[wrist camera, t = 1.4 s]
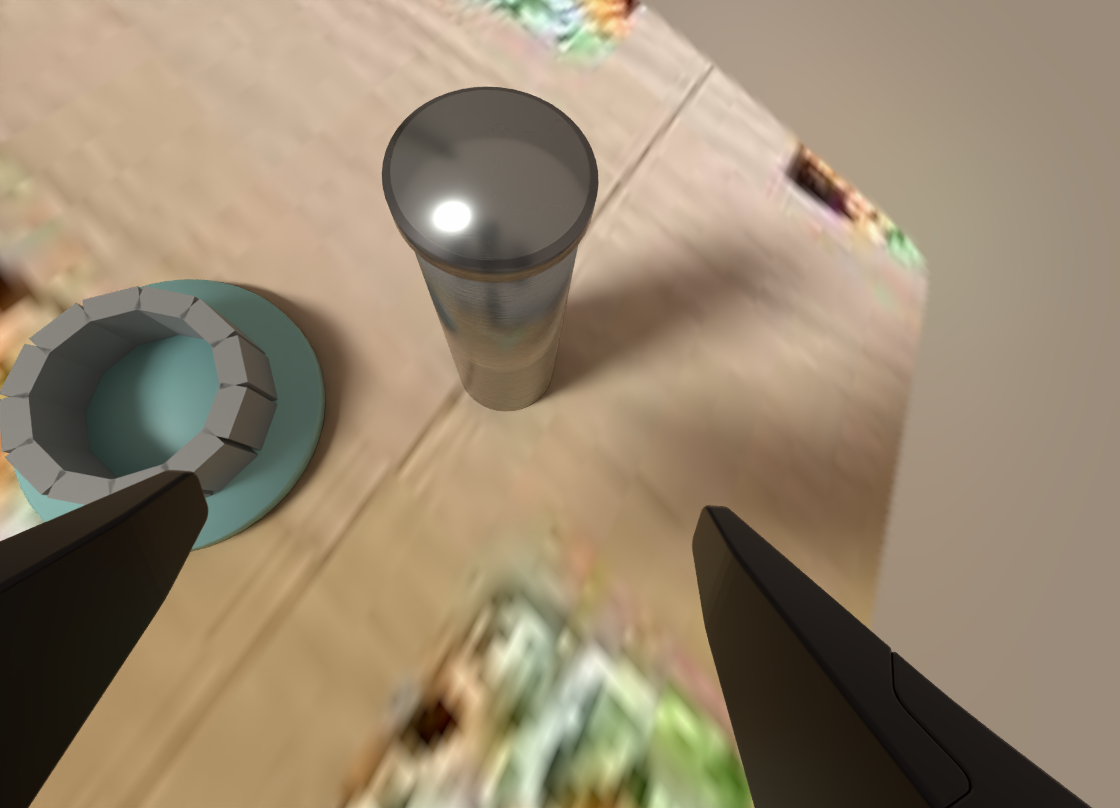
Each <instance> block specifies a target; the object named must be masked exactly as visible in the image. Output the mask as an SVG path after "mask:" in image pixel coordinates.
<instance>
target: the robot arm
mask: <svg viewBox="0 0 1120 808" xmlns="http://www.w3.org/2000/svg"><path fill="white" fill-rule="evenodd" d="M207 517H208V504H207V501H206V498H205V495H204V492H203V489H202V486H201V483H200V480H199V477H198V476H197V475H196V474H195V473H194V472H192V471H183V470H166V471H163V472H161V473H159V474H156V475H154V476H152V477H149V478H147V479H145V480H142V481H140V482H138V483H135V484H133V485H131V486H128V487H126V488H124V489H121V490H119V491H117V492H114V493H112V494H110V495H107V496H105V497H103V498H100V499H98V500H96V501H93V502H91V503H89V504H86V505H84V506H82V507H79V508H77V509H75V510H72V511H70V512H68V513H65V514H63V515H61V516H58V517H56V518H54V519H51V520H49V521H47V522H44V523H42V524H40V525H37V526H35V527H33V528H30V529H28V530H26V531H23V532H21V533H19V534H16V535H14V536H12V537H9V538H7V539H5V540H2V541H0V808H29V806H30V805H31V803H32V802H33V800H34V799H35V797H36V796H37V794H38V792H39V791H40V789H41V788H42V786H43V785H44V783H45V782H46V780H47V779H48V777H49V776H50V774H51V773H52V771H53V770H54V768H55V767H56V765H57V764H58V762H59V761H60V759H61V758H62V756H63V755H64V753H65V751H66V750H67V748H68V747H69V745H70V744H71V742H72V741H73V739H74V738H75V736H76V735H77V733H78V732H79V730H80V729H81V727H82V726H83V724H84V723H85V721H86V720H87V718H88V717H89V715H90V713H91V712H92V710H93V709H94V707H95V706H96V704H97V703H98V701H99V700H100V698H101V697H102V695H103V694H104V692H105V691H106V689H107V688H108V686H109V685H110V683H111V682H112V680H113V679H114V677H115V676H116V674H117V672H118V671H119V669H120V668H121V666H122V665H123V663H124V662H125V660H126V659H127V657H128V656H129V654H130V653H131V651H132V650H133V648H134V647H135V645H136V644H137V642H138V641H139V639H140V638H141V636H142V634H143V633H144V631H145V630H146V628H147V627H148V625H149V624H150V622H151V621H152V619H153V618H154V616H155V615H156V613H157V612H158V610H159V608H160V607H161V605H162V604H163V602H164V600H165V599H166V597H167V595H168V593H169V591H170V590H171V588H172V586H173V584H174V582H175V580H176V578H177V576H178V575H179V573H180V571H181V569H182V567H183V565H184V563H185V561H186V559H187V557H188V555H189V553H190V552H191V550H192V548H193V546H194V544H195V542H196V540H197V538H198V536H199V534H200V532H201V530H202V529H203V527H204V525H205V523H206V520H207ZM692 550H693V557H694V563H695V569H696V575H697V582H698V588H699V594H700V600H701V607H702V613H703V619H704V624H705V629H706V633H707V637H708V641H709V645H710V648H711V652H712V656H713V659H714V663H715V666H716V670H717V674H718V677H719V681H720V684H721V688H722V692H723V695H724V699H725V702H726V706H727V710H728V713H729V717H730V720H731V724H732V728H733V731H734V735H735V739H736V742H737V746H738V749H739V753H740V757H741V760H742V764H743V767H744V771H745V775H746V778H747V782H748V785H749V789H750V793H751V796H752V800H753V803H754V807H755V808H1091V807H1090V806H1089V805H1088V804H1086V803H1085V802H1084V801H1082V800H1081V799H1080V798H1078V797H1077V796H1076V795H1075V794H1073V793H1072V792H1070V791H1069V790H1068V789H1067V788H1065V787H1064V786H1063V785H1061V784H1060V783H1059V782H1057V781H1056V780H1055V779H1054V778H1052V777H1051V776H1050V775H1048V774H1047V773H1046V772H1044V771H1043V770H1042V769H1041V768H1039V767H1038V766H1037V765H1035V764H1034V763H1033V762H1031V761H1030V760H1029V759H1027V758H1026V757H1025V756H1023V755H1022V754H1021V753H1020V752H1018V751H1017V750H1016V749H1014V748H1013V747H1012V746H1010V745H1009V744H1008V743H1007V742H1005V741H1004V740H1003V739H1001V738H1000V737H999V736H997V735H996V734H995V733H994V732H992V731H991V730H989V728H987V727H986V726H985V725H983V724H982V723H981V722H980V721H978V720H977V719H976V718H975V717H973V716H972V715H971V714H969V713H968V712H967V711H966V710H964V709H963V708H962V707H961V706H959V705H958V704H957V703H955V702H954V701H953V700H952V699H951V698H949V697H948V696H947V695H946V694H945V693H943V692H942V691H941V690H940V689H938V688H937V687H936V686H935V685H934V684H932V683H931V682H930V681H929V680H928V679H927V678H925V677H924V676H923V675H922V674H921V673H919V672H918V671H917V670H916V669H915V668H914V667H912V666H911V665H910V664H909V663H908V662H906V661H905V660H904V659H903V658H902V657H901V656H900V655H898V654H897V653H896V652H891V648H890V647H889V646H888V645H887V644H885V643H884V642H883V641H882V640H881V639H880V638H879V637H877V636H876V635H875V634H874V633H873V632H872V631H870V630H869V629H868V628H867V627H866V626H865V625H863V624H862V623H861V622H860V621H859V620H858V619H857V618H855V617H854V616H853V615H852V614H851V613H850V612H848V611H847V610H846V609H845V608H844V607H843V606H841V605H840V604H839V603H838V602H837V601H836V600H834V599H833V598H832V597H831V596H830V595H829V594H828V593H826V592H825V591H824V590H823V589H822V588H821V587H819V586H818V585H817V584H816V583H815V582H814V581H812V580H811V579H810V578H809V577H808V576H807V575H805V574H804V573H803V572H802V571H801V570H800V569H799V568H797V567H796V566H795V565H794V564H793V563H792V562H790V561H789V560H788V559H787V558H786V557H785V556H783V555H782V554H781V553H780V552H779V551H778V550H776V549H775V548H774V547H773V546H772V545H771V544H770V543H768V542H767V541H766V540H765V539H764V538H763V537H761V536H760V535H759V534H758V533H757V532H756V531H754V530H753V529H752V528H751V527H750V526H749V525H747V524H746V523H745V522H744V521H743V520H742V519H741V518H739V517H738V516H737V515H736V514H735V513H734V512H732V511H731V510H730V509H729V508H727V507H724V506H711V505H707V506H705V507H704V508H703V509H702V511H701V514H700V517H699V520H698V523H697V527H696V530H695V533H694V536H693V541H692Z"/></svg>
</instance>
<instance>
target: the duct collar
mask: <svg viewBox="0 0 1120 808" xmlns="http://www.w3.org/2000/svg"><path fill="white" fill-rule="evenodd" d="M29 339H30V340H31V341H32V342H33V343H34V344H35V345H36V346H33V345H27V344H24V346H23V348H22V350H21V352H20V354H19V356H18V358H17V360H16V361H15V363H14V365H13V367H12V369H11V371H10V373H9V375H8V377H7V379H6V381H5V383H4V385H3V387H2V389H1V391H0V394H1V395H5V396H8V398H4V399H0V433H1V444H2V452H7V453H9V454H8V455H7V456H6V457H5V458H6V459H7V460H8V461H9V462H10V463H11V464H12V465H13V466H14V469H15V473H16V476H17V479H18V482H19V484H20V487H21V489H22V491H23V493H24V495H25V497H26V498H27V500H28V502H29V504H30V505H31V506H32V508H33V509H34V510H35V511H36V513H37V514H38V515H39V516H40V517H41V519H42V520H44V521H45V522H47V521H49V520H51V519H54V518H56V517H58V516H61V515H63V514H65V513H68V512H70V511H72V510H75V509H77V508H79V507H82V506H84V505H86V504H89V503H91V502H93V501H96V500H98V499H100V498H103V497H105V496H107V495H110V494H112V493H114V492H117V491H119V490H121V489H124V488H126V487H128V486H131V485H133V484H135V483H138V482H140V481H142V480H145V479H147V478H149V477H152V476H154V475H156V474H159V473H161V472H163V471H166V470H183V471H192V472H194V473H195V474H196V475H197V476H198V477H199V480H200V483H201V486H202V489H203V492H204V495H205V498H206V501H207V504H208V517H207V520H206V523H205V525H204V527H203V529H202V530H201V532H200V534H199V536H198V538H197V540H196V542H195V544H194V546H193V548H192V550H191V551H195V550H198V549H202V548H206V547H209V546H211V545H214V544H216V543H219V542H221V541H224V540H226V539H228V538H230V537H232V536H234V535H236V534H238V533H239V532H241V531H243V530H245V529H247V528H248V527H249V526H251V525H252V524H254V523H255V522H257V521H258V520H260V519H261V518H262V517H264V516H265V515H266V514H267V513H268V512H269V511H270V510H272V509H273V508H274V507H275V506H276V505H277V504H278V503H279V502H280V501H281V500H282V499H283V498H284V497H285V496H286V495H287V494H288V492H289V491H290V490H291V489H292V488H293V486H294V485H295V484H296V482H297V481H298V479H299V478H300V477H301V475H302V474H303V472H304V471H305V469H306V467H307V465H308V463H309V461H310V460H311V458H312V456H313V453H314V451H315V448H316V446H317V443H318V441H319V438H320V434H321V430H322V426H323V422H324V413H325V385H324V380H323V374H322V370H321V367H320V364H319V361H318V358H317V356H316V354H315V352H314V350H313V348H312V346H311V344H310V342H309V341H308V340H307V338H306V337H305V335H304V334H303V333H302V331H301V330H300V329H299V328H298V327H297V326H296V325H295V324H294V323H293V322H292V321H291V320H290V319H289V318H288V317H287V316H286V315H285V314H284V313H283V312H282V311H281V310H280V309H278V308H277V307H276V306H274V305H273V304H272V303H270V302H269V301H267V300H266V299H264V298H262V297H260V296H259V295H257V294H255V293H253V292H250V291H248V290H245V289H243V288H240V287H238V286H234V285H230V284H226V283H222V282H216V281H209V280H187V279H186V280H174V281H165V282H160V283H155V284H150V285H146V286H143V287H138V286H137V287H133V288H129V289H125V290H121V291H117V292H113V293H109V294H105V295H101V296H97V297H93V298H89V299H85V300H83V306H81V305H79V304H77V303H75V304H74V305H73V306H72V307H70V308H69V309H68V310H66V311H65V312H64V313H62V314H61V315H60V316H58V317H57V318H56V319H54V320H53V321H52V322H50V323H49V324H48V325H46V326H45V327H44V328H42V329H41V330H40V331H39V332H37V333H36V334H35V335H33V336H32V337H31V338H29Z"/></svg>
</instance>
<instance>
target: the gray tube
mask: <svg viewBox="0 0 1120 808" xmlns="http://www.w3.org/2000/svg"><path fill="white" fill-rule="evenodd" d="M382 183H383V190H384V194H385V198H386V201H387V204H388V206H389V209H390V211H391V214H392V216H393V219H394V221H395V224H396V226H397V228H398V230H399V232H400V233H401V235H402V237H403V238H404V240H405V241H406V242H407V243H408V245H409V246H410V247H411V248H412V249H413V250H414V251H415V254H416V257H417V259H418V262H419V265H420V268H421V270H422V273H423V276H424V279H425V282H426V284H427V287H428V290H429V293H430V295H431V298H432V301H433V304H434V306H435V309H436V312H437V315H438V317H439V320H440V323H441V326H442V329H443V331H444V334H445V337H446V340H447V342H448V345H449V348H450V351H451V353H452V356H453V359H454V362H455V365H456V367H457V370H458V373H459V376H460V378H461V381H462V383H463V386H464V388H465V389H466V391H467V392H468V394H469V395H470V396H471V397H472V398H473V399H474V400H475V401H477V402H478V403H479V404H481V405H483V406H485V407H487V408H490V409H493V410H498V411H515V410H519V409H522V408H525V407H527V406H529V405H531V404H533V403H534V402H535V401H537V400H538V399H539V398H540V397H541V396H542V395H543V394H544V392H545V391H546V389H547V388H548V386H549V384H550V381H551V378H552V374H553V369H554V364H555V359H556V354H557V349H558V344H559V339H560V334H561V328H562V323H563V318H564V313H565V308H566V303H567V298H568V293H569V288H570V283H571V278H572V273H573V268H574V263H575V258H576V253H577V248H578V244H579V243H580V241H581V240H582V238H583V236H584V235H585V233H586V231H587V229H588V227H589V224H590V222H591V218H592V214H593V211H594V206H595V202H596V197H597V191H598V169H597V164H596V159H595V157H594V154H593V151H592V148H591V146H590V144H589V142H588V141H587V139H586V137H585V136H584V134H583V133H582V131H581V130H580V129H579V127H578V126H577V125H576V124H575V123H574V122H573V121H572V120H571V119H570V118H569V117H568V116H567V115H566V114H564V113H563V112H562V111H561V110H559V109H558V108H556V107H555V106H553V105H552V104H550V103H548V102H546V101H544V100H542V99H540V98H538V97H536V96H533V95H531V94H528V93H525V92H521V91H517V90H513V89H507V88H501V87H474V88H467V89H461V90H457V91H453V92H450V93H447V94H444V95H442V96H439V97H436V98H434V99H433V100H431V101H429V102H427V103H425V104H424V105H422V106H421V107H419V108H418V109H416V110H415V111H414V112H413V113H412V114H410V115H409V116H408V117H407V118H406V119H405V120H404V121H403V123H402V124H401V125H400V126H399V127H398V129H397V130H396V132H395V133H394V135H393V136H392V138H391V140H390V142H389V145H388V147H387V149H386V152H385V156H384V160H383V167H382Z"/></svg>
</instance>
